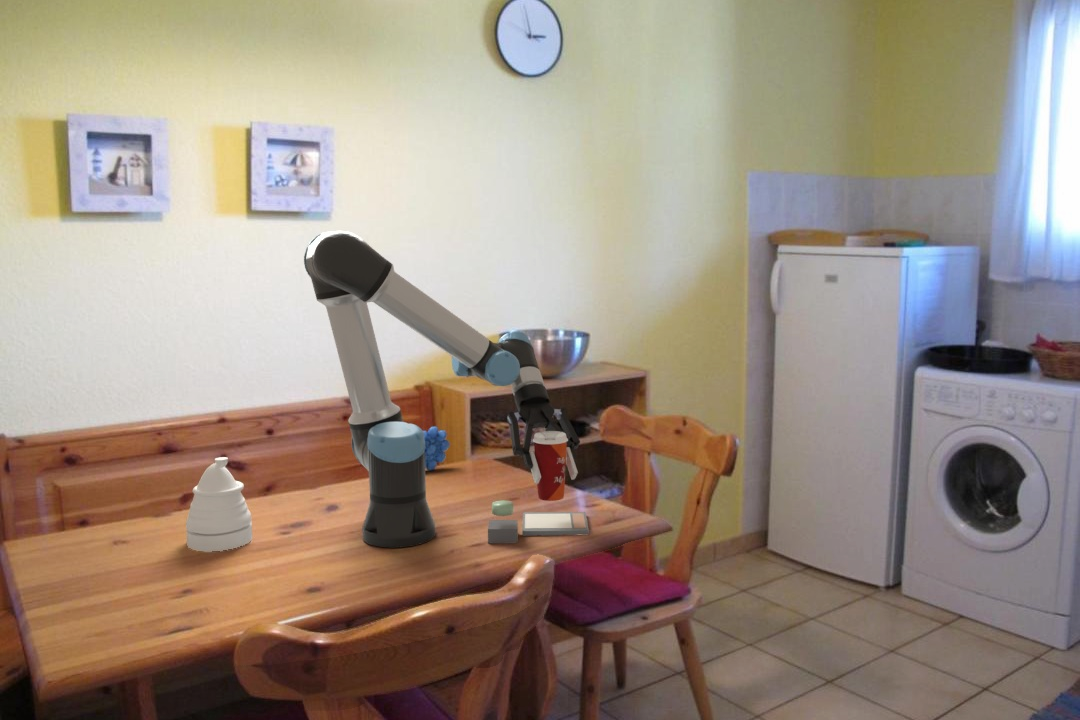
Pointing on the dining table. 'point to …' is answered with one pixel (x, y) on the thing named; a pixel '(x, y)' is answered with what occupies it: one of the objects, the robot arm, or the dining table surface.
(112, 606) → the dining table surface
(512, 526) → the button housing
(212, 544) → the honey pot
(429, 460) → the grapes
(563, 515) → the picture board
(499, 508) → the button
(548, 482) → the paper cup
